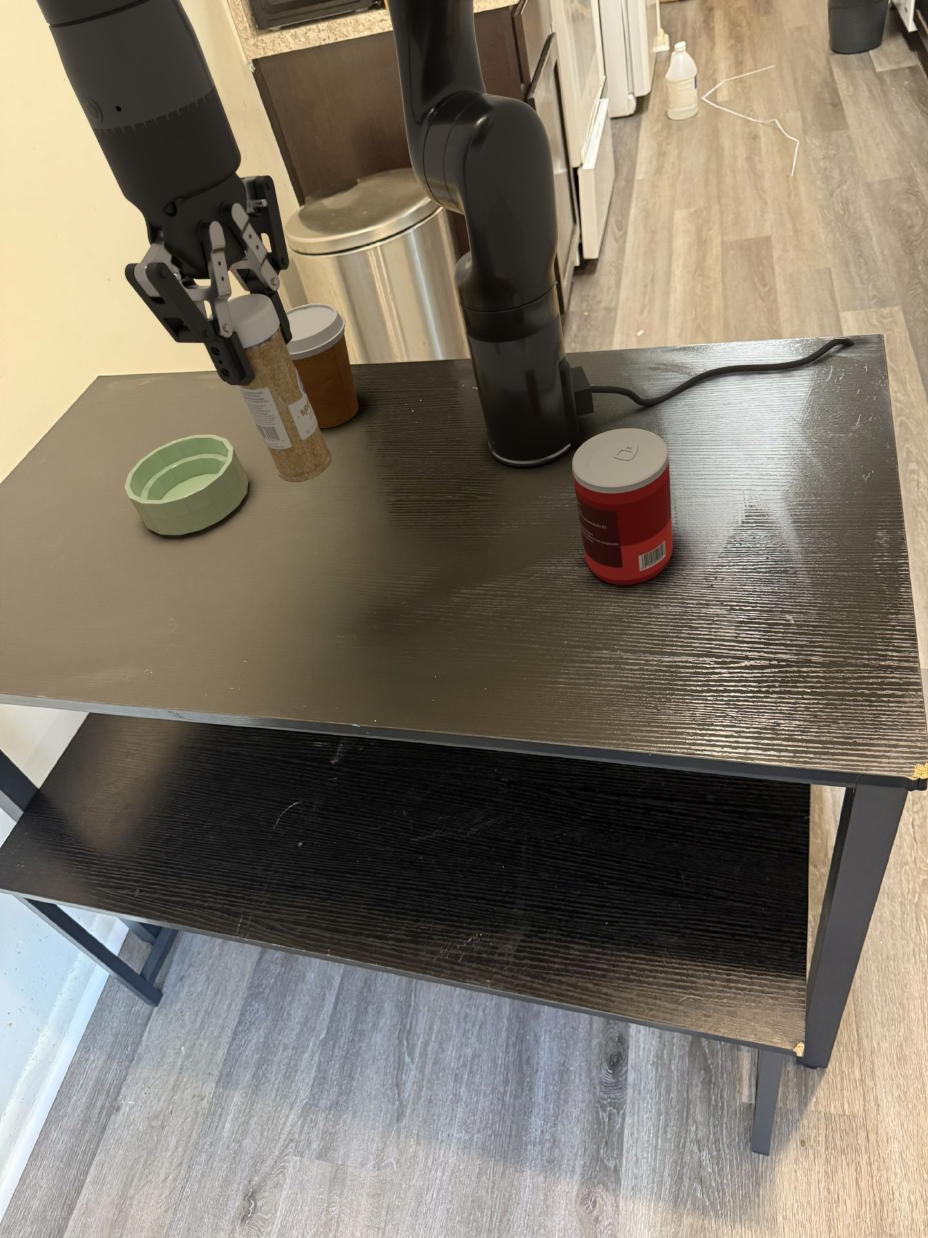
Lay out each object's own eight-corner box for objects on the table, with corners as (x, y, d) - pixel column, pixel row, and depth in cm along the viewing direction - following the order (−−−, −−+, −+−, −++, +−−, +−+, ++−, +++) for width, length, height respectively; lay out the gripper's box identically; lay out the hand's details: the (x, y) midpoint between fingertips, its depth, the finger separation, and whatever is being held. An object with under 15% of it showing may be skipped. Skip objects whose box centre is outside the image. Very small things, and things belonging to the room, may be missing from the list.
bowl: (253, 460, 102) (236, 424, 98) (246, 523, 93) (228, 486, 89) (154, 484, 102) (134, 449, 99) (138, 550, 94) (116, 514, 90)
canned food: (680, 529, 78) (676, 427, 71) (664, 591, 73) (658, 488, 66) (596, 524, 81) (584, 425, 73) (576, 584, 76) (560, 484, 68)
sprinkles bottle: (343, 464, 67) (281, 301, 58) (292, 493, 66) (220, 331, 56) (317, 442, 70) (254, 284, 61) (268, 469, 69) (196, 312, 60)
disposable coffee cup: (287, 411, 108) (251, 322, 99) (357, 382, 109) (328, 292, 101) (307, 446, 101) (270, 353, 93) (382, 415, 103) (352, 321, 94)
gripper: (122, 140, 44) (251, 423, 56) (266, 47, 52) (351, 310, 64) (20, 152, 47) (163, 418, 59) (171, 62, 55) (269, 311, 67)
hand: (261, 360), depth 62 cm, fingers closed on sprinkles bottle, 4 cm apart
